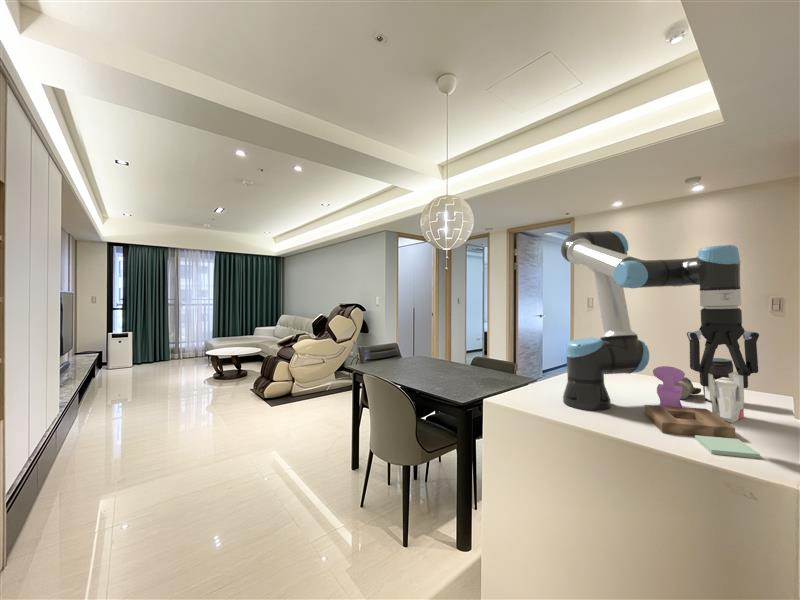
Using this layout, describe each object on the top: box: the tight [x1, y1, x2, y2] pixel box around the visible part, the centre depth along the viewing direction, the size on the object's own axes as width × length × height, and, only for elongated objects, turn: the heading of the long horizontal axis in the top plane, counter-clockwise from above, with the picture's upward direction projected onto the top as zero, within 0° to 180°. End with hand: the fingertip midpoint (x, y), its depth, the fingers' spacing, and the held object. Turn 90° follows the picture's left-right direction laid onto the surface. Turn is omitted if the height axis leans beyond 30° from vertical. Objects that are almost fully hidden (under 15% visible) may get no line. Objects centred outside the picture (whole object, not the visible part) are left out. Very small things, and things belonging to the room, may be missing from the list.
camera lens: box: [702, 357, 734, 404], centre depth 120 cm, size 8×8×15 cm
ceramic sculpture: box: [674, 376, 702, 400], centre depth 128 cm, size 11×9×15 cm
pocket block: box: [644, 404, 736, 439], centre depth 101 cm, size 16×16×3 cm
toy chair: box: [652, 365, 686, 407], centre depth 114 cm, size 8×9×15 cm
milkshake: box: [713, 378, 737, 419], centre depth 85 cm, size 4×5×10 cm
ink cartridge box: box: [711, 370, 745, 424], centre depth 105 cm, size 9×5×15 cm, turn 117°
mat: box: [694, 435, 761, 459], centre depth 85 cm, size 9×9×1 cm
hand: (724, 399), depth 85 cm, fingers closed on milkshake, 5 cm apart
